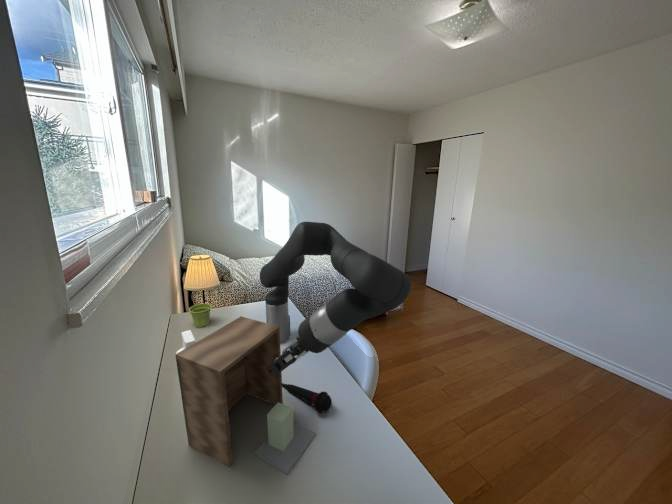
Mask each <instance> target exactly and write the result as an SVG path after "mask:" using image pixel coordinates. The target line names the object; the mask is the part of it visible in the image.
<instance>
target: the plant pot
mask: <svg viewBox="0 0 672 504" xmlns="http://www.w3.org/2000/svg"><path fill="white" fill-rule="evenodd" d="M211 309H212V304H210V303H204V302H203V303H198V304H194V305H192V306H190V307H189V309H188V312H190V315H191V317H192V320H193V323H194V326H195V327H196V328H203V327H207V326H209V324H210V318H211V317H210V315H211Z"/></svg>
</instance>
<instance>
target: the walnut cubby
mask: <svg viewBox="0 0 672 504" xmlns="http://www.w3.org/2000/svg"><path fill="white" fill-rule="evenodd" d="M280 355H282V352H281V344H280V327H279V326H276V325H272V324H268V323H267V322H265V321H259V320H257V319H252V318H248V317H245V316H239V317H238V318H235V319H234V320H233V321H231V322H229V323H227V324H226V325H224V326H222V327H220V328H218V329H217V330H215V331H214V332H212V333H209V334H208V335H207V336H205V337H203V338H202V339H200V340H198V341H195V343H194V344H193V345H191V346H189V347H187V348H186V349H184V350H182V351H181V352H179V353H177V354H176V353H175V362H176V367H177V375H178V382H179V389H180V396H181V402H182V410H183V416H184V423H185V430H186V435H187V437H186V438H187V443H188V446H190V447H192V448H193V449H195V450H197V451H199V452H201V453H203V454H204V455H206V456H208V457H210V458H211V459H214V460H215V461H217V462H219V463H221V464H223V465H224V466H226V467H227V468H232V467H233V466H234V458H233V449H232V448H233V447H232V440H231V439H232V437H231V429H230V427H231V426H230V419H229V411H230V410H231V409H232V408H233V407H234V406H235V405H236V404H237V403H238V402H240V400H241V399H242V398H244V397H245V395H247V394H249V395H250V396H253V397H256V398H258V399H260V400H263V401H266V402H268V403H271V404H273V405H274V406H275V405H276V404H277V403H278V402H279V403H282V404H284V403H283V402H284V401H283V399H284V398H283V386H282V383H283V381H282V380H283V379H282V377H283V376H282V372H281V373H280V374H277V373H275V374H274V375H271V374H270V373H269V371H268V370H267V367H268V366H269V365H270V364H271V363H272V362H274V361H275V359H276V358H278V357H279V356H280Z"/></svg>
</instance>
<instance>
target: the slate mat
mask: <svg viewBox="0 0 672 504" xmlns="http://www.w3.org/2000/svg"><path fill="white" fill-rule="evenodd" d="M293 432H294V437H293V438H292V440H291V441H290V443H289V444H288V446H287V447H286V449H285V450H284V452H283V451H281V450H279V449H277V448H275V447H273V446H271V445H269V440H268V438H266V439H265V441H263V443H262V444H261V445H260V446H259V448H257V449H256V451H254V452H255V453H254V455H256V456H258V457H259V458H260V459H262V460H263V461H265V462H267V463H268V464H270V465H271V466H272V467H274V468H276V469H277V470H279V471H280V472H282V473H284V474H285V475H287V476H288V475H289V474H290V473H291V471H292V469H293V468H294V467H295V465H296V464H297V462H298V461H299V459H300V458H301V457H302V455H303V454H304V452H305V451H306V450H307V448H308V447H309V445H310V444H311V443H312V441H313V440H314V439H315V437H316V436H317V432H315V431H313V430H312V429H309V428H308V427H306V426H304V425H302V424H300V423H298V422H297V421H295V420H293Z"/></svg>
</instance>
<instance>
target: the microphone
mask: <svg viewBox="0 0 672 504" xmlns="http://www.w3.org/2000/svg"><path fill="white" fill-rule="evenodd" d="M282 388H284V389H285V390H286V391H288V393H290V394H292V395H293V396H295V397H297V398H299V399H301V400H303V401H305V402H306V403H309V404H310V405H312V406H314V409H315V412H317V413H318V414H319V413H320V414H321V413H327V412H328V411H329V410H330V409H331V407H332V402H333V401H332V397H331V396H330V395H329V394H328V392H327V391H321V392H315V391H312V390H310V389H307V388H303V387H301V386H299V385H294V384H287V383H283V382H282Z"/></svg>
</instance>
